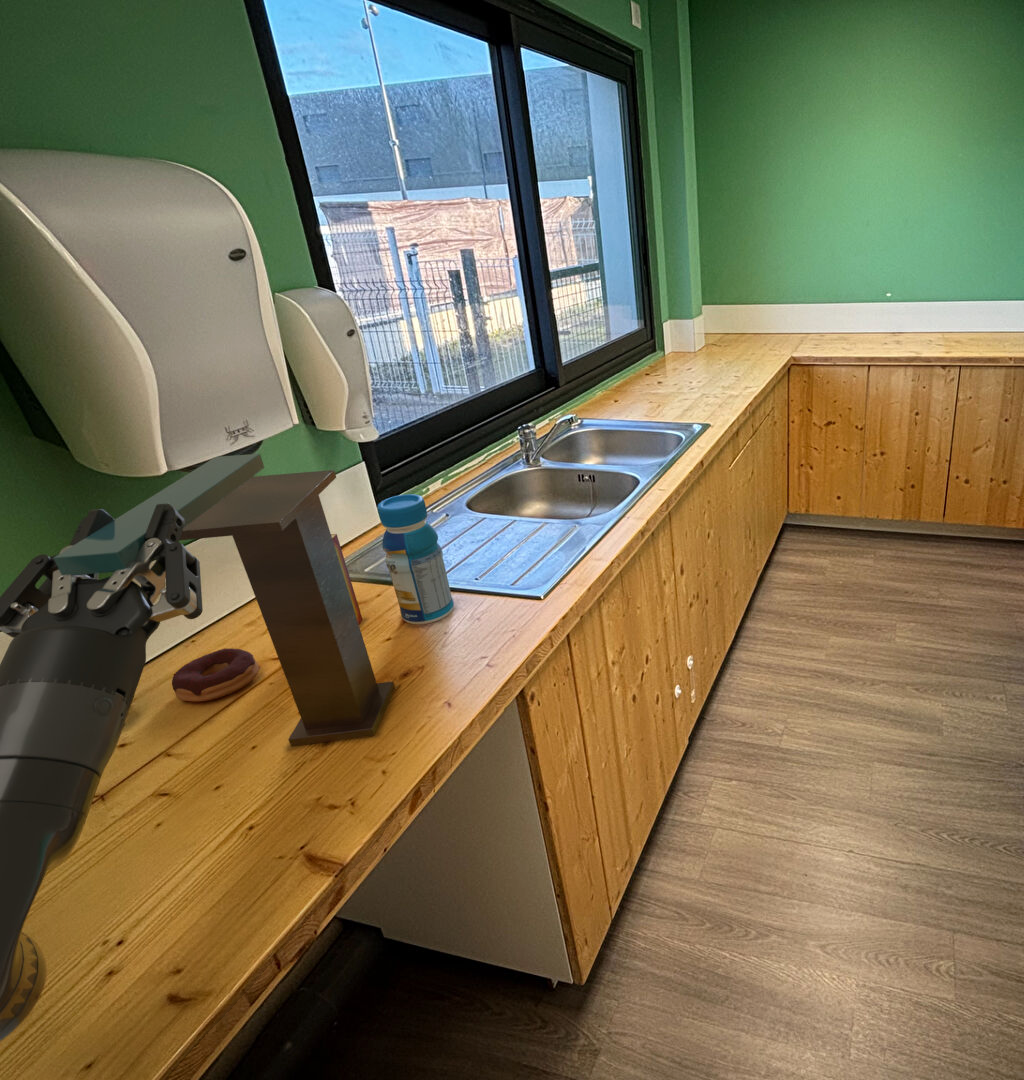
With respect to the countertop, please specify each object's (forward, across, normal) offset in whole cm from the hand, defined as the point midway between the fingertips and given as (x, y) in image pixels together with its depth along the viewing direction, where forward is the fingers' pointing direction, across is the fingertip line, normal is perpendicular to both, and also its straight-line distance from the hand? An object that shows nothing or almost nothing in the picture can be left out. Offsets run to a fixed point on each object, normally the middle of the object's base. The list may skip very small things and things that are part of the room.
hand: (137, 513), depth 58 cm
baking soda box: (+17, -9, -54) cm, 57 cm away
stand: (-3, 0, -42) cm, 42 cm away
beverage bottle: (+21, +5, -56) cm, 60 cm away
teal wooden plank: (+3, 0, -4) cm, 6 cm away
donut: (+8, -20, -49) cm, 54 cm away
